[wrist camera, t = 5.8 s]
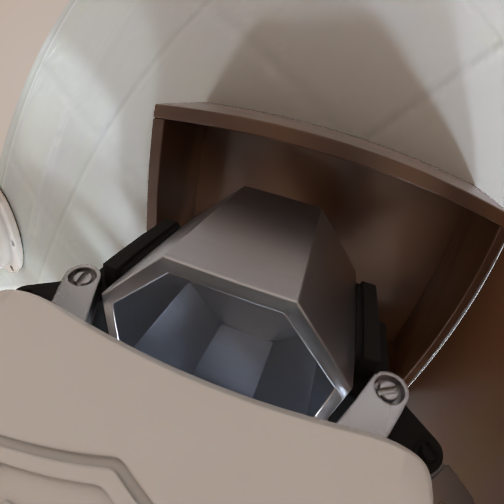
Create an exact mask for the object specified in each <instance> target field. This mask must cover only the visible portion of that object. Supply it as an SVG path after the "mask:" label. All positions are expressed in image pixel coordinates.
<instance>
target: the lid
mask: <svg viewBox="0 0 504 504" xmlns="http://www.w3.org/2000/svg"><path fill="white" fill-rule="evenodd" d="M408 389H409V398H408V401H407V403H406V406H407V407H408V408H409V410H410V411H411V412H412V413H413V414H414V415H415V416H416V417H417V418H418V420H419V421H420V422H421V423H422V424H423V425H424V426H425V428H426V429H427V430H428V431H429V432H430V433H431V434H432V435H433V437H434V438H435V439H436V440H437V441H438V442H439V444H440V445H441V447H442V450H443V461H442V463H443V465H444V466H445V465H447V464H448V465H449V466H450V468H451V469H452V470H453V472H454V473H455V474H456V476H457V477H458V478H459V480H460V481H461V482H462V484H463V485H464V486H465V488H466V489H467V490H468V492H469V493H470V494H471V496H472V498H473V500H474V504H504V247H503V249H502V251H501V253H500V255H499V257H498V259H497V261H496V263H495V265H494V267H493V269H492V271H491V272H490V274H489V276H488V278H487V280H486V281H485V283H484V285H483V287H482V288H481V290H480V292H479V293H478V295H477V297H476V298H475V300H474V301H473V303H472V305H471V306H470V308H469V309H468V311H467V312H466V314H465V315H464V317H463V318H462V320H461V321H460V323H459V324H458V326H457V327H456V329H455V330H454V331H453V333H452V334H451V336H450V337H449V338H448V340H447V341H446V342H445V344H444V345H443V346H442V348H441V349H440V350H439V352H438V353H437V354H436V355H435V357H434V358H433V359H432V360H431V362H430V363H429V364H428V365H427V367H426V368H425V369H424V370H423V371H422V373H421V374H420V375H419V376H418V377H417V378H416V380H415V381H414V382H413V383H412V384H411V385H410V386H409V387H408Z"/></svg>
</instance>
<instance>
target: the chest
mask: <svg viewBox="0 0 504 504" xmlns="http://www.w3.org/2000/svg"><path fill="white" fill-rule="evenodd" d="M154 117H155V118H154V119H153V128H152V138H151V150H150V163H149V179H148V200H147V231H148V230H150V229H151V228H153V227H154V226H155V225H157V224H158V223H160V222H161V221H163V220H164V219H169V220H173V221H176V222H178V223H179V225H180V227H182V226H183V225H185V224H186V223H187V222H188V221H190V220H191V219H193V218H194V217H196V216H198V215H199V214H201V213H202V212H204V211H205V210H207V209H209V208H210V207H212V206H213V205H215V204H216V203H218V202H220V201H221V200H223V199H224V198H226V197H228V196H229V195H231V194H232V193H234V192H236V191H237V190H239V189H241V188H242V187H244V186H248V187H251V188H255V189H259V190H262V191H266V192H269V193H273V194H276V195H280V196H283V197H287V198H290V199H293V200H297V201H300V202H303V203H307V204H310V205H313V206H316V207H320V208H322V210H323V211H324V213H325V215H326V217H327V218H328V220H329V222H330V224H331V226H332V228H333V229H334V231H335V233H336V235H337V237H338V239H339V240H340V242H341V244H342V246H343V248H344V250H345V252H346V254H347V256H348V258H349V260H350V261H351V263H352V265H353V267H354V269H355V271H356V283H358V284H360V283H361V282H362V281H364V282H367V283H371V284H374V285H376V290H377V301H378V312H379V321H380V322H383V323H385V325H386V334H387V347H388V364H389V372H392V373H394V374H396V375H398V376H399V377H400V378H402V379H403V380H404V382H405V383H406V384H407V387H408V386H409V385H410V383H411V382H412V381H413V380H414V379H415V378H416V377H417V375H418V374H419V373H420V372H421V371H422V370H423V368H424V367H425V366H426V365H427V363H428V362H429V361H430V360H431V358H432V357H433V356H434V355H435V353H436V352H437V351H438V350H439V348H440V347H441V346H442V344H443V343H444V342H445V340H446V339H447V337H448V336H449V335H450V333H451V332H452V331H453V329H454V328H455V326H456V325H457V323H458V322H459V320H460V319H461V317H462V316H463V314H464V313H465V311H466V310H467V308H468V307H469V305H470V304H471V302H472V300H473V299H474V297H475V296H476V294H477V292H478V291H479V289H480V287H481V285H482V284H483V282H484V280H485V279H486V277H487V275H488V273H489V271H490V269H491V268H492V266H493V264H494V262H495V260H496V258H497V256H498V254H499V252H500V250H501V248H502V246H503V244H504V208H503V207H502V206H500V205H499V204H498V203H497V202H495V201H494V200H493V199H491V198H490V197H489V196H488V195H486V194H485V193H484V192H482V191H481V190H479V189H478V188H477V187H475V186H473V185H471V184H469V183H467V182H465V181H463V180H461V179H459V178H457V177H455V176H453V175H451V174H449V173H447V172H444V171H442V170H440V169H438V168H436V167H433V166H431V165H429V164H426V163H424V162H422V161H419V160H417V159H414V158H412V157H410V156H407V155H405V154H402V153H399V152H397V151H394V150H392V149H389V148H386V147H383V146H381V145H378V144H375V143H372V142H369V141H366V140H363V139H360V138H357V137H354V136H351V135H348V134H345V133H341V132H338V131H335V130H331V129H328V128H325V127H321V126H317V125H314V124H310V123H306V122H302V121H298V120H294V119H290V118H286V117H282V116H277V115H273V114H268V113H264V112H259V111H254V110H249V109H243V108H238V107H232V106H226V105H220V104H213V103H206V102H194V103H168V104H156V105H155V110H154Z"/></svg>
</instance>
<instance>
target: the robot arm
mask: <svg viewBox="0 0 504 504" xmlns="http://www.w3.org/2000/svg"><path fill="white" fill-rule="evenodd" d="M179 228H181V227H180V225H179V223H178V222H176V221H173V220H169V219H164V220H163V221H161V222H160V223H158V224H157V225H155V226H154V227H153V228H151V229H150V230H148V231H147V232H146V233H144V234H143V235H141V236H140V237H139V238H137V239H136V240H134V241H133V242H132V243H130V244H129V245H128V246H126V247H125V248H123V249H122V250H121V251H119V252H118V253H117V254H115V255H114V256H113V257H111V258H110V259H109V260H108V261H106V262H105V263H104V264H103V268H101V269H100V270H99V269H98V268H97V267H95V266H93V265H78V266H75V267H73V268H71V269H69V270H68V271H67V272H66V274H65V275H64V277H63V279H62V281H60V282H52V283H43V284H35V285H26V286H22V287H20V288H18V289H16V290H3V291H0V504H474V500H473V498H472V496H471V494H470V493H469V492H468V490H467V489H466V488H465V486H464V485H463V484H462V482H461V481H460V480H459V478H458V477H457V476H456V474H455V473H454V472H453V470H452V469H451V468H450V466H449V465H448V464H447V465H445V466H444V465H443V463H442V461H443V450H442V447H441V445H440V444H439V442H438V441H437V440H436V439H435V438H434V437H433V435H432V434H431V433H430V432H429V431H428V430H427V429H426V428H425V426H424V425H423V424H422V423H421V422H420V421H419V420H418V418H417V417H416V416H415V415H414V414H413V413H412V412H411V411H410V410H409V408H408V407H407V406H406V403H407V401H408V398H409V389H408V387H407V384H406V383H405V382H404V380H403V379H402V378H400V377H399V376H398V375H396V374H394V373H392V372H389V364H388V347H387V334H386V325H385V323H383V322H380V321H379V312H378V301H377V290H376V285H374V284H371V283H367V282H364V281H362V282H361V283H360V284H358V283H356V337H355V359H354V375H353V388H352V390H351V391H350V392H349V393H348V395H347V396H346V397H345V398H344V400H343V401H342V402H341V403H340V405H339V406H338V407H337V408H336V410H335V411H334V412H333V413H332V414H331V416H330V417H329V418H328V421H326V420H322V419H318V418H315V417H311V416H308V415H304V414H301V413H297V412H294V411H291V410H287V409H284V408H281V407H277V406H274V405H271V404H268V403H265V402H262V401H259V400H256V399H253V398H250V397H247V396H245V395H242V394H239V393H236V392H234V391H231V390H228V389H226V388H223V387H221V386H218V385H215V384H213V383H210V382H208V381H205V380H203V379H200V378H198V377H196V376H193V375H191V374H189V373H186V372H184V371H182V370H179V369H177V368H175V367H173V366H171V365H168V364H166V363H164V362H162V361H160V360H158V359H155V358H153V357H151V356H149V355H147V354H145V353H143V352H141V351H139V350H137V349H135V348H133V347H131V346H129V345H127V344H125V343H123V342H121V341H120V340H118V339H116V338H114V337H112V336H110V335H109V332H108V327H107V322H106V316H105V311H104V305H103V300H102V293H103V292H104V291H105V290H106V289H108V288H109V287H110V286H111V285H112V284H113V283H114V282H116V281H117V280H118V279H119V278H120V277H121V276H122V275H124V274H125V273H126V272H127V271H128V270H129V269H131V268H132V267H133V266H134V265H135V264H137V263H138V262H139V261H140V260H141V259H143V258H144V257H145V256H146V255H147V254H149V253H150V252H151V251H152V250H153V249H155V248H156V247H157V246H158V245H160V244H161V243H162V242H163V241H164V240H166V239H167V238H168V237H169V236H171V235H172V234H173V233H174V232H176V231H177V230H178V229H179ZM22 265H23V248H22V243H21V238H20V234H19V230H18V227H17V224H16V221H15V218H14V216H13V213H12V211H11V209H10V206H9V204H8V202H7V200H6V198H5V196H4V195H3V193H2V192H1V190H0V269H1V268H3V267H4V268H5V269H6V270H7V271H9V272H11V273H16V272H17V271H18V270H20V269H21V267H22Z"/></svg>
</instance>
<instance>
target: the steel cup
mask: <svg viewBox="0 0 504 504" xmlns="http://www.w3.org/2000/svg"><path fill="white" fill-rule="evenodd" d="M102 300H103V305H104V311H105V316H106V322H107V327H108V332H109V335H110V336H112V337H114V338H116V339H118V340H120V341H121V342H123V343H125V344H127V345H129V346H131V347H133V348H135V349H137V350H139V351H141V352H143V353H145V354H147V355H149V356H151V357H153V358H155V359H158V360H160V361H162V362H164V363H166V364H168V365H171V366H173V367H175V368H177V369H179V370H182V371H184V372H186V373H189V374H191V375H193V376H196V377H198V378H200V379H203V380H205V381H208V382H210V383H213V384H215V385H218V386H221V387H223V388H226V389H228V390H231V391H234V392H236V393H239V394H242V395H245V396H247V397H250V398H253V399H256V400H259V401H262V402H265V403H268V404H271V405H274V406H277V407H281V408H284V409H287V410H291V411H294V412H297V413H301V414H304V415H308V416H311V417H315V418H318V419H322V420H327V419H328V418H329V417H330V416H331V414H332V413H333V412H334V411H335V410H336V408H337V407H338V406H339V405H340V403H341V402H342V401H343V400H344V398H345V397H346V396H347V395H348V393H349V392H350V391H351V390H352V388H353V375H354V359H355V337H356V271H355V269H354V267H353V265H352V263H351V261H350V260H349V258H348V256H347V254H346V252H345V250H344V248H343V246H342V244H341V242H340V240H339V239H338V237H337V235H336V233H335V231H334V229H333V228H332V226H331V224H330V222H329V220H328V218H327V217H326V215H325V213H324V211H323V210H322V208H320V207H316V206H313V205H310V204H307V203H303V202H300V201H297V200H293V199H290V198H287V197H283V196H280V195H276V194H273V193H269V192H266V191H262V190H259V189H255V188H251V187H248V186H244V187H242V188H241V189H239V190H237V191H236V192H234V193H232V194H231V195H229V196H228V197H226V198H224V199H223V200H221V201H220V202H218V203H216V204H215V205H213V206H212V207H210V208H209V209H207V210H205V211H204V212H202V213H201V214H199V215H198V216H196V217H194V218H193V219H191V220H190V221H188V222H187V223H186V224H185V225H183V226H182V227H181V228H179V229H178V230H177V231H176V232H174V233H173V234H172V235H171V236H169V237H168V238H167V239H166V240H164V241H163V242H162V243H161V244H160V245H158V246H157V247H156V248H155V249H153V250H152V251H151V252H150V253H149V254H147V255H146V256H145V257H144V258H143V259H141V260H140V261H139V262H138V263H137V264H135V265H134V266H133V267H132V268H131V269H129V270H128V271H127V272H126V273H125V274H124V275H122V276H121V277H120V278H119V279H118V280H117V281H116V282H114V283H113V284H112V285H111V286H110V287H109V288H108V289H106V290H105V291H104V292H103V293H102Z"/></svg>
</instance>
